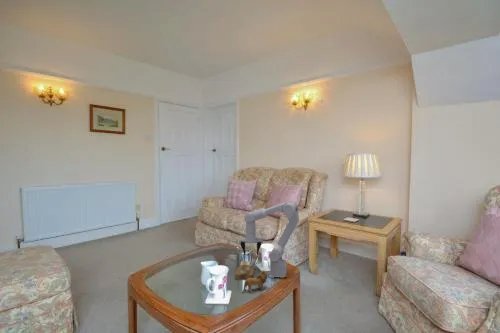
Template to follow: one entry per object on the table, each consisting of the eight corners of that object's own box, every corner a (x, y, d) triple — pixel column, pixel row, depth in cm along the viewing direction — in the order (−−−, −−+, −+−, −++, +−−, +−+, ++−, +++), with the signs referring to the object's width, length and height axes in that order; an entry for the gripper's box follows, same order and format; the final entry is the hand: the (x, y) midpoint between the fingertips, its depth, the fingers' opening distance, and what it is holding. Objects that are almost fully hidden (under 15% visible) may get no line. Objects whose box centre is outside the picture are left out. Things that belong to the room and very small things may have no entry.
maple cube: (249, 270, 152) (249, 261, 152) (249, 273, 147) (249, 265, 147) (241, 269, 152) (241, 261, 152) (240, 273, 147) (240, 264, 147)
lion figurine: (264, 284, 141) (264, 268, 140) (269, 288, 136) (269, 271, 136) (239, 291, 134) (239, 274, 134) (244, 296, 129) (244, 278, 129)
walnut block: (254, 273, 156) (254, 267, 156) (253, 281, 146) (253, 274, 146) (237, 272, 157) (237, 266, 156) (235, 280, 147) (235, 274, 146)
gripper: (263, 230, 160) (263, 252, 161) (239, 230, 161) (239, 252, 162) (262, 233, 153) (263, 256, 154) (238, 233, 154) (238, 256, 155)
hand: (251, 254), depth 157 cm, fingers open, 7 cm apart
